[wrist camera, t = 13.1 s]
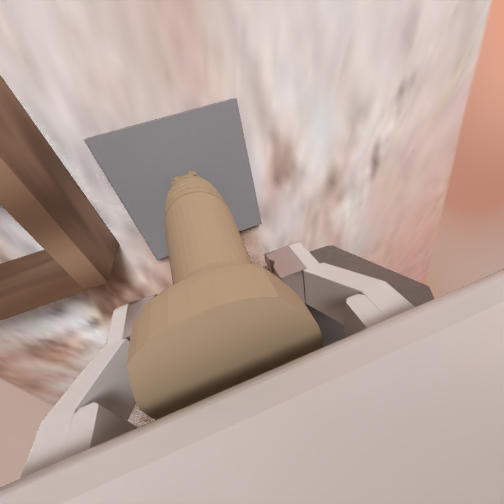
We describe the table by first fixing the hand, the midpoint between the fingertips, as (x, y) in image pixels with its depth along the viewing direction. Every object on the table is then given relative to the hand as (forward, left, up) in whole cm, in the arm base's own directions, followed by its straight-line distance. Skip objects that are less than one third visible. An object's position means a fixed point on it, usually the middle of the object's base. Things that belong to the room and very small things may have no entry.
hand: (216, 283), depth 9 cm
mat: (0, 0, -12) cm, 12 cm away
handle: (0, 0, -11) cm, 11 cm away
